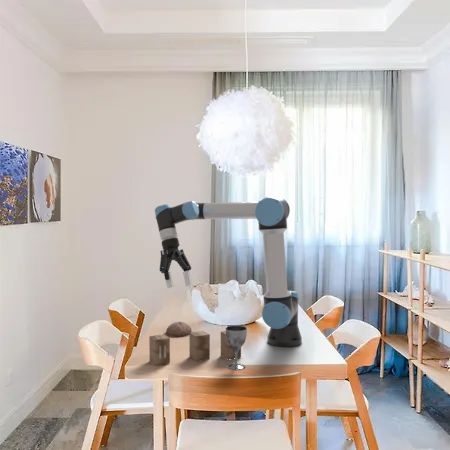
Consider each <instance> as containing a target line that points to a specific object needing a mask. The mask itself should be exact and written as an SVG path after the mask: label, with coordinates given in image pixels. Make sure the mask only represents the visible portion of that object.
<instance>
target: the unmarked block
mask: <svg viewBox="0 0 450 450" xmlns="http://www.w3.org/2000/svg"><path fill="white" fill-rule="evenodd" d="M210 339H211V338H210V333H208V332H206V331H205V330H197V331H192V332H191V333H190V335H189V358H190V359H192V360H193V361H194V362H196V361H197V362H201V361H200V360H202V361H206V360H205V359H207V360H210V359H211V357H210V354H211V353H210V351H211V349H210V347H211V346H210V344H211V343H210Z"/></svg>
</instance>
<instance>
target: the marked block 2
mask: <svg viewBox="0 0 450 450" xmlns="http://www.w3.org/2000/svg"><path fill="white" fill-rule="evenodd" d="M222 356H223V357H224V359H225V358H226V359H225V360H227V359H228V360H227V361H230V360H229V359H232V360H235V359H234V358H235V354H234V351H233V349H232V348H231V347H230V345H229V344H228V342H227V339H226V330H223V331H220V357H222ZM223 357H222V358H223ZM238 357H241V358H242V347H241V348H240V349H239V351H238V355H237V359H239V358H238Z"/></svg>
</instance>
